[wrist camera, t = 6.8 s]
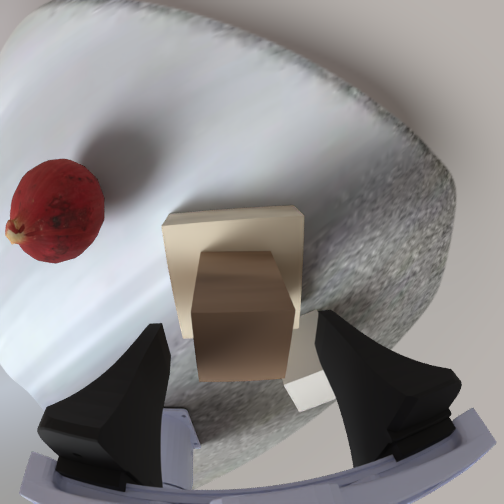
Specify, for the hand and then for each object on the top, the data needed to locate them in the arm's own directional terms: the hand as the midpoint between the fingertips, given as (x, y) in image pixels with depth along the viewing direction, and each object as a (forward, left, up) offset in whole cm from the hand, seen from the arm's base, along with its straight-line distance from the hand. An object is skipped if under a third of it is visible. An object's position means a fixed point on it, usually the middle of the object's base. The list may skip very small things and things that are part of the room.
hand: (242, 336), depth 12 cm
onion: (+6, +10, -8) cm, 14 cm away
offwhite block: (-7, -5, -7) cm, 11 cm away
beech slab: (0, 0, -8) cm, 8 cm away
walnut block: (0, 0, -5) cm, 5 cm away
